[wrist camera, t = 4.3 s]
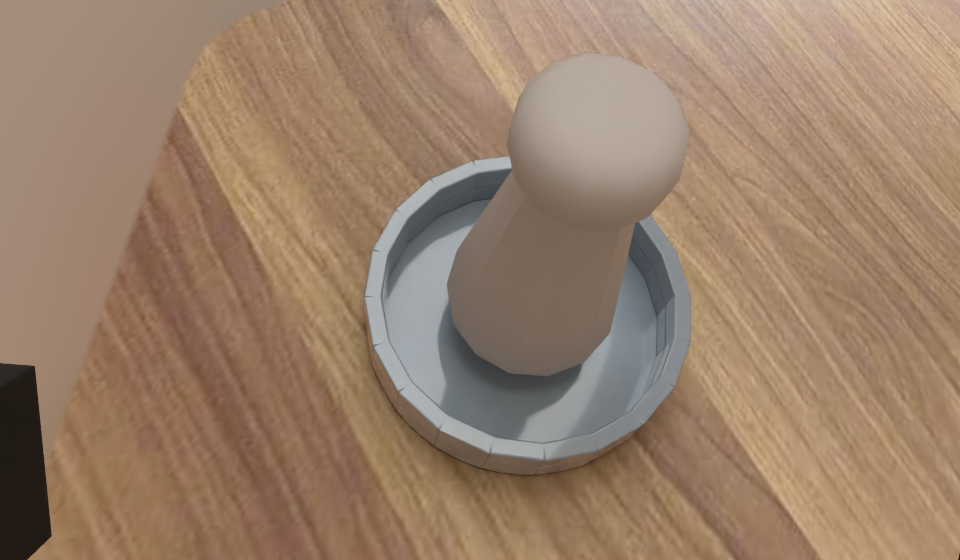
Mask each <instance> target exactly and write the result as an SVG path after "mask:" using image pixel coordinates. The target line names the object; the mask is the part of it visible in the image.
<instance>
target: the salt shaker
mask: <svg viewBox="0 0 960 560" xmlns="http://www.w3.org/2000/svg"><path fill="white" fill-rule="evenodd" d="M689 136H690V129H689V126H688V123H687V120H686V117H685V114H684V112H683V109H682V106H681V103H680V100H679V99H678V98H677V97H676V95H675V94H674V93H673V92H672V91H671V90H670V89H669V88H668V87H667V85H666V84H665V83H664V82H663V81H662V80H661V79H660V78H659V76H658V75H657V74H656V73H654V72H652V71H650V70H648V69H646V68H644V67H642V66H640V65H638V64H636V63H634V62H632V61H629V60H627V59H625V58H623V57H619V56H611V55H603V54H595V53H586V52H584V53H581V54H578V55H574V56H571V57H567V58H564V59H561V60H557V61H554V62H551V63H550V64H549V65H548V66H547V67H545V68H544V69H543V70H542V71H541V72H540V73H539V74H537V75H536V76H535V77H534V78H533V79H532V80H531V81H530V82H528V83H527V85H526V86H525V88H524V90H523V91H522V93H521V95H520V97H519V98H518V102H517V105H516V108H515V112H514V115H513V118H512V122H511V125H510V128H509V134H508V142H507V147H508V151H509V156H510V161H511V166H512V171H511V172H510V174H509V175H508V177H507V178H506V180H505V181H504V182H503V184H502V185H501V187H500V188H499V190H498V191H497V193H496V194H495V195H494V197H493V198H492V200H491V201H490V203H489V204H488V206H487V207H486V209H485V210H484V211H483V213H482V214H481V216H480V217H479V219H478V220H477V222H476V223H475V224H474V226H473V227H472V229H471V230H470V232H469V233H468V235H467V236H466V238H465V239H464V240H463V242H462V243H461V245H460V246H459V248H458V249H457V251H456V254H455V258H454V261H453V264H452V268H451V271H450V274H449V278H448V281H447V289H448V295H449V301H450V308H451V314H452V320H453V325H454V326H455V328H456V329H457V330H458V332H459V333H460V334H461V336H462V337H463V338H464V339H465V341H466V342H467V343H468V345H469V346H470V347H471V349H472V350H473V351H474V353H475V354H476V355H477V356H479V357H481V358H483V359H484V360H486V361H488V362H490V363H492V364H493V365H495V366H497V367H499V368H500V369H502V370H504V371H506V372H508V373H509V374H522V375H535V376H550V375H553V374H555V373H558V372H561V371H563V370H566V369H569V368H571V367H574V366H576V365H579V364H582V363H583V362H584V361H586V360H587V359H588V358H589V356H590V355H591V354H592V353H593V352H594V351H595V350H596V349H597V347H598V346H599V345H600V344H601V343H602V342H603V341H604V339H605V338H606V337H607V336H608V335H609V334H610V332H611V327H612V323H613V319H614V314H615V310H616V306H617V301H618V297H619V293H620V288H621V284H622V279H623V275H624V270H625V266H626V261H627V257H628V253H629V248H630V244H631V239H632V235H633V230H634V226H635V223H636V222H639V221H642V220H644V219H646V218H648V216H649V215H650V214H651V213H652V212H653V211H654V210H655V209H656V208H657V206H658V205H659V204H660V203H661V202H662V201H663V200H664V199H665V198H666V196H667V195H668V194H669V193H670V192H671V190H672V189H673V188H674V186H675V185H676V184H677V182H678V181H679V178H680V175H681V171H682V167H683V163H684V159H685V154H686V150H687V145H688V141H689Z"/></svg>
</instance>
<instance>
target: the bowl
mask: <svg viewBox="0 0 960 560" xmlns="http://www.w3.org/2000/svg"><path fill="white" fill-rule="evenodd" d="M511 171H512V166H511V161H510V156H504V157H496V158H488V159H480V160H474V161H473V162H472V161H470V162H468V163H465V164H463V165H461V166H458V167H456V168H454V169H452V170H449V171H447V172H445V173H442V174H440V175H438V176H436V177H433V178H431V179H430V180H428V181H427V182H426V183H424V184H423V185H422V186H421V187H420V188H419V189H418V190H416V191H415V192H414V193H413V194H412V195H411V196H410V197H409V198H407V199H406V200H405V201H404V202H403V203H402V204H401V205H400V206H398V207H397V208H396V210H395V211H394V212H393V214H392V216H391V217H390V219H389V221H388V223H387V224H386V226H385V228H384V230H383V231H382V233H381V235H380V237H379V239H378V240H377V242H376V244H375V246H374V247H373V251H372V252H371V257H370V263H369V269H368V275H367V281H366V286H365V292H364V322H365V328H366V334H367V340H368V347H369V352H370V357H371V363H372V366H373V369H374V371H375V372H376V374H377V377H378V379H379V381H380V384H381V386H382V388H383V390H384V391H385V393H386V395H387V396H388V398H389V400H390V401H391V403H392V405H393V406H394V407H395V408H396V410H397V411H398V412H399V413H400V415H401V416H402V417H403V418H404V420H405V421H406V422H407V423H408V424H409V425H410V426H411V427H412V428H413V429H414V430H415V431H416V432H418V433H419V434H420V435H421V436H422V437H423V438H425V439H426V440H427V441H429V442H430V443H431V444H433V445H434V446H435V447H437V448H438V449H440V450H442V451H444V452H445V453H447V454H449V455H451V456H453V457H454V458H456V459H458V460H461V461H464V462H466V463H469V464H471V465H474V466H476V467H480V468H484V469H488V470H492V471H496V472H501V473H510V474H518V475H530V474H531V475H533V474H546V473H553V472H559V471H564V470H567V469H571V468H574V467H577V466H582V465H584V464H587V463H589V462H591V461H592V460H594V459H596V458H599V457H601V456H602V455H604V454H605V453H607V452H608V451H610V450H612V449H613V448H615V447H616V446H618V445H620V444H622V443H623V442H625V441H626V440H628V439H629V438H630V437H631V436H632V435H633V434H634V433H635V432H636V431H637V430H638V429H639V428H640V427H642V426H643V425H644V424H645V422H646V421H647V420H648V419H649V418H650V416H651V415H652V414H653V413H654V412H655V410H656V409H657V408H658V407H659V406H660V405H661V403H662V402H663V401H664V400H665V399H666V397H667V396H668V395H669V394H670V393H671V391H672V390H673V389H674V387H675V385H676V382H677V379H678V376H679V374H680V371H681V368H682V365H683V362H684V360H685V357H686V354H687V351H688V349H689V346H690V341H691V297H690V291H689V288H688V285H687V282H686V279H685V276H684V273H683V270H682V267H681V264H680V261H679V258H678V255H677V252H676V251H675V248H674V247H673V245H672V244H671V243H670V241H669V240H668V238H667V237H666V236H665V234H664V233H663V231H662V230H661V228H660V227H659V226H658V224H657V223H656V221H655V220H654V219H653V217H652V216H651V214H650V215H649V216H648V218H646V219H644V220H642V221H639V222H636V223H635V226H634V230H633V235H632V239H631V244H630V248H629V253H628V257H627V261H626V266H625V270H624V275H623V279H622V284H621V288H620V293H619V297H618V301H617V306H616V310H615V314H614V319H613V323H612V327H611V332H610V334H609V335H608V336H607V337H606V338H605V339H604V341H603V342H602V343H601V344H600V345H599V346H598V347H597V349H596V350H595V351H594V352H593V353H592V354H591V355H590V356H589V358H588V359H587V360H586V361H584V362H583V363H582V364H579V365H576V366H574V367H571V368H569V369H566V370H563V371H561V372H558V373H555V374H553V375H550V376H535V375H522V374H509V373H508V372H506V371H504V370H502V369H500V368H499V367H497V366H495V365H493V364H492V363H490V362H488V361H486V360H484V359H483V358H481V357H479V356H477V355H476V354H475V353H474V351H473V350H472V349H471V347H470V346H469V345H468V343H467V342H466V341H465V339H464V338H463V337H462V336H461V334H460V333H459V332H458V330H457V329H456V328H455V326H454V325H453V320H452V314H451V308H450V301H449V295H448V289H447V281H448V278H449V274H450V271H451V268H452V264H453V261H454V258H455V254H456V251H457V249H458V248H459V246H460V245H461V243H462V242H463V240H464V239H465V238H466V236H467V235H468V233H469V232H470V230H471V229H472V227H473V226H474V224H475V223H476V222H477V220H478V219H479V217H480V216H481V214H482V213H483V211H484V210H485V209H486V207H487V206H488V204H489V203H490V201H491V200H492V198H493V197H494V195H495V194H496V193H497V191H498V190H499V188H500V187H501V185H502V184H503V182H504V181H505V180H506V178H507V177H508V175H509V174H510V172H511Z"/></svg>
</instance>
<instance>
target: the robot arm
mask: <svg viewBox="0 0 960 560" xmlns="http://www.w3.org/2000/svg"><path fill="white" fill-rule="evenodd" d="M51 536H52V535H51V525H50V515H49V505H48V495H47V485H46V475H45V465H44V455H43V445H42V435H41V425H40V414H39V405H38V395H37V384H36V374H35V366H28V365H14V364H2V363H0V560H27V559H28V558H29V557H30V556H31V555H32V554H34V553H35V552H36V551H37V550H38V549H39V548H40V547H41V546H42V545H43V544H44V543H45V542H46V541H47V540H48V539H49V538H50V537H51ZM958 560H960V555H959V559H958Z"/></svg>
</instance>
